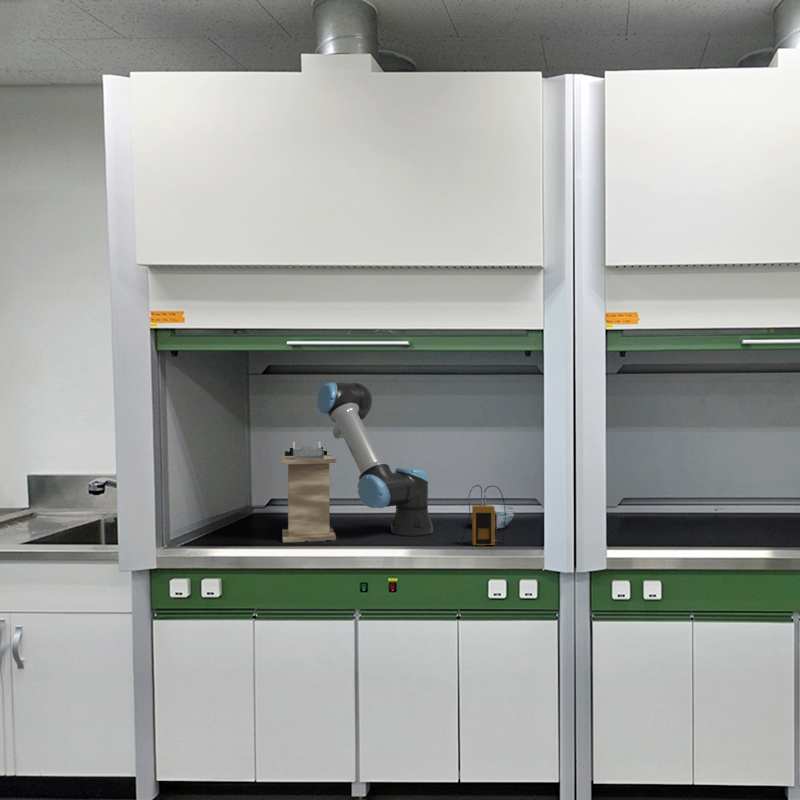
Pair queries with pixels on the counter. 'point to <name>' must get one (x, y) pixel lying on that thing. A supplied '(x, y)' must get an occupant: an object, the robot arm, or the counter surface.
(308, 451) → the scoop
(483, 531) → the multimeter
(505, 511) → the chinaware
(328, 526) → the stand
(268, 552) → the counter surface
